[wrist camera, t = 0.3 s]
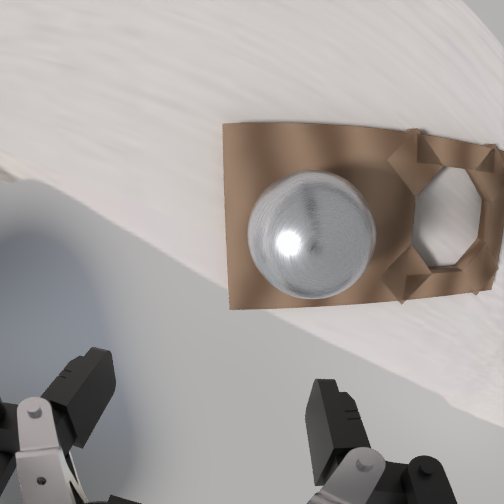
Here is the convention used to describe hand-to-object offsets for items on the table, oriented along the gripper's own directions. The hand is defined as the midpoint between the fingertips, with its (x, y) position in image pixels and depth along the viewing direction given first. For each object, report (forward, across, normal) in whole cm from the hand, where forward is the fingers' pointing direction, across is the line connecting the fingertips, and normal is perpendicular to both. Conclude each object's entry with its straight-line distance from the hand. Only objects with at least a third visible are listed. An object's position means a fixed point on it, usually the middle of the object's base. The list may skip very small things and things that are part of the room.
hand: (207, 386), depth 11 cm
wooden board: (+22, -15, -5) cm, 27 cm away
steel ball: (+14, -6, -3) cm, 16 cm away
